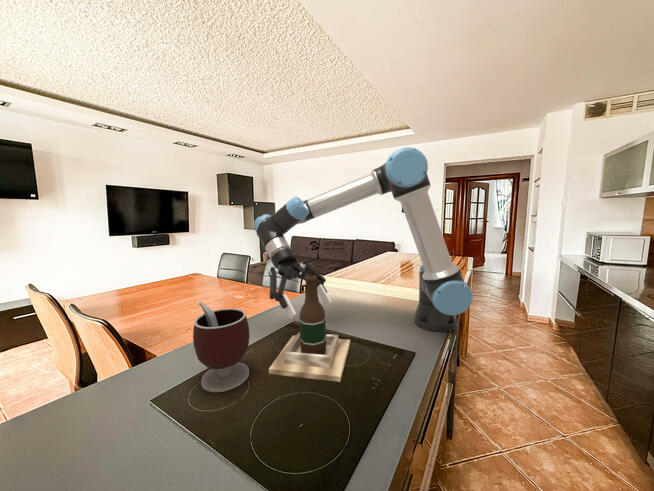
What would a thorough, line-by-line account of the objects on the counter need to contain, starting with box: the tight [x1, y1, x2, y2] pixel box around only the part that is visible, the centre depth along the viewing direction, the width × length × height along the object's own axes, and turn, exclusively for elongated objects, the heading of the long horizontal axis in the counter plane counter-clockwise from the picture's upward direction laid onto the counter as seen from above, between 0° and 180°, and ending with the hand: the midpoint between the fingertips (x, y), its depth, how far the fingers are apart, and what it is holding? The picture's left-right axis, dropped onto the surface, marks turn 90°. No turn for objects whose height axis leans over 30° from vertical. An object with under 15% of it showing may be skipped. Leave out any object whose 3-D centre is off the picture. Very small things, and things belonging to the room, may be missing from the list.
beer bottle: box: [299, 275, 327, 355], centre depth 80 cm, size 8×8×24 cm
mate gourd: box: [192, 301, 250, 393], centre depth 72 cm, size 16×14×20 cm
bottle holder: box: [268, 331, 351, 383], centre depth 81 cm, size 20×20×4 cm
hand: (312, 310), depth 79 cm, fingers open, 13 cm apart
